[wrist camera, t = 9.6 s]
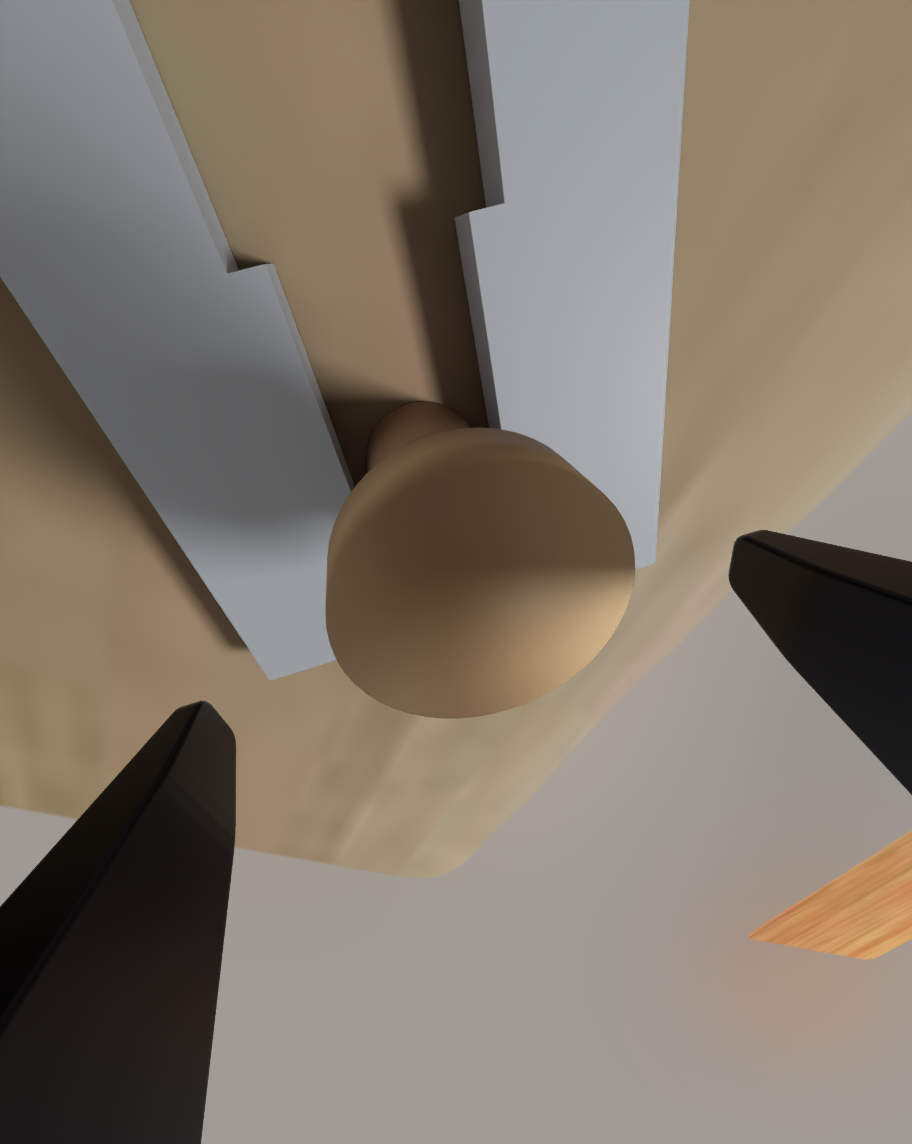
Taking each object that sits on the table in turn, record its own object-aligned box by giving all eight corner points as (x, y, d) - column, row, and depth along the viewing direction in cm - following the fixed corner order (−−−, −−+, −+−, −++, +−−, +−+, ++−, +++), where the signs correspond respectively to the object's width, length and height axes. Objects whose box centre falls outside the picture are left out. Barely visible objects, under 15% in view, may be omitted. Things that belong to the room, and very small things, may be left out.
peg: (493, 341, 13) (639, 415, 7) (517, 510, 16) (632, 670, 10) (301, 392, 12) (265, 522, 6) (365, 555, 16) (383, 749, 9)
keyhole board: (-477, -557, 5) (-742, -824, 4) (665, -723, 6) (755, -993, 5) (274, 650, 17) (269, 682, 16) (633, 542, 18) (656, 564, 16)
